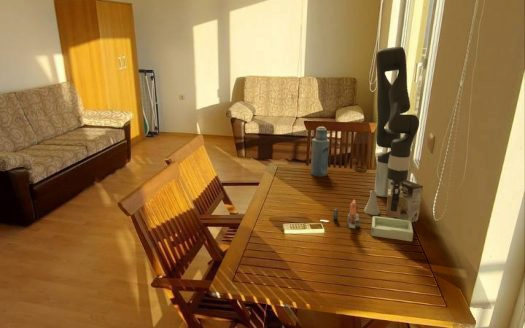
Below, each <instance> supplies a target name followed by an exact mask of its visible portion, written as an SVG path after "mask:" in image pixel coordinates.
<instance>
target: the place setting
mask: <svg viewBox="0 0 525 328" xmlns="http://www.w3.org/2000/svg"><path fill="white" fill-rule="evenodd" d="M351 162H352V163H353V164H356V163H357V159H356V158H353V159H352V161H351ZM353 170H354V171H355V172H358V171H359V173H364V172H366V171H367V168H366V166H361V165H356V166H354V167H353Z"/></svg>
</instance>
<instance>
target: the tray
mask: <svg viewBox="0 0 525 328" xmlns="http://www.w3.org/2000/svg"><path fill="white" fill-rule="evenodd" d="M371 220H372V221H371V232H370V236H372V237H379V238H385V239H392V240H399V241H400V240H401V241H407V242H413V238H414V230H413V225H412V222H411V221H408V220H400V219H398V218H393V217H392V218H391V217H384V216H378V215H372V218H371Z"/></svg>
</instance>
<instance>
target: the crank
mask: <svg viewBox="0 0 525 328" xmlns="http://www.w3.org/2000/svg"><path fill="white" fill-rule="evenodd" d="M347 220H348V221H349V227H348V229H349V228H350V229H356V228H355V224H356V222H359V223H360V214H358V203H356V199H352V202H350V205H349V213H348V214H347Z"/></svg>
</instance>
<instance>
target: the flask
mask: <svg viewBox="0 0 525 328" xmlns="http://www.w3.org/2000/svg"><path fill="white" fill-rule="evenodd" d="M369 193H370V196H369V199H368V201H367V203H366V205H365V207H364V209H363V212H364V213H365V214H366V215H371V216H379V215H380V213H381V211H380V207H379V204H378V199H377V191H374V190H370V191H369Z"/></svg>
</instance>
